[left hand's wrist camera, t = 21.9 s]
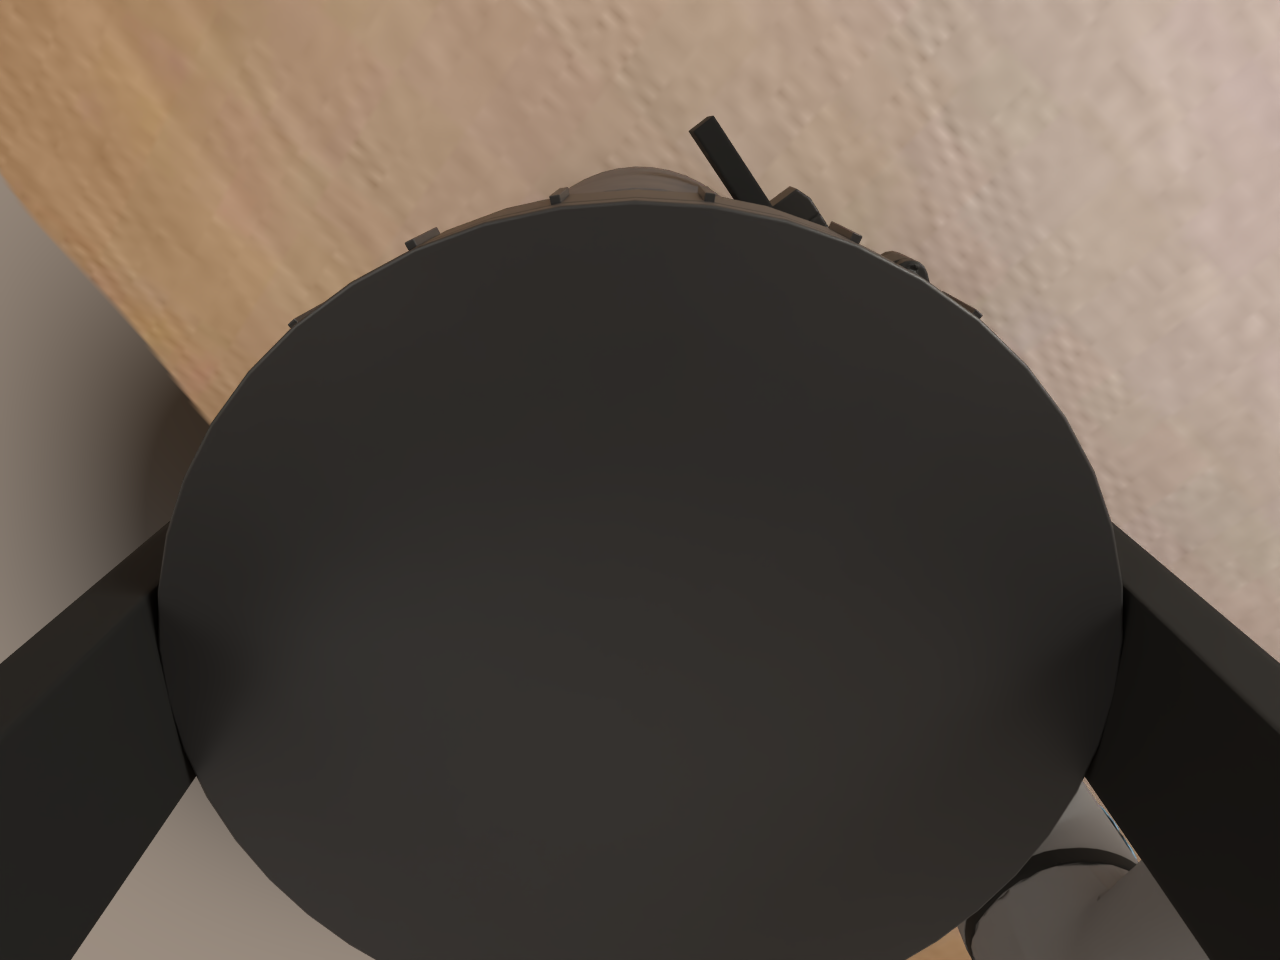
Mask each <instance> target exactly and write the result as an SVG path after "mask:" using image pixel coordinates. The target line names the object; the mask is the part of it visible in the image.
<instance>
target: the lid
mask: <svg viewBox="0 0 1280 960" xmlns="http://www.w3.org/2000/svg"><path fill="white" fill-rule="evenodd" d="M549 198H550V199H547V200H542V201H537V202H533V203H528V204H524V205H519V206H515V207H510V208H506V209H503V210H501V211H498V212H495V213H492V214H490V215H487V216H484V217H482V218H479V219H476V220H474V221H471V222H468V223H465V224H463V225H460V226H457V227H455V228H452V229H449V230H447V231H445V232H443V233H441V234H440V232H439V230H438V228H437V227H436V228H433V229H431V230H429V231H427V232H425V233H423V234H421V235H419V236H417V237H415V238H413V239H411V240H409V241H407V242H405V245H406V247H407V248H408V250H409V251H408V252H406V253H404V254H402V255H400V256H398V257H397V258H395V259H393V260H391V261H389V262H387V263H386V264H384V265H382V266H380V267H378V268H376V269H374V270H373V271H371V272H369V273H367V274H365V275H363V276H362V277H360V278H358V279H356V280H354V281H352V282H351V283H349V284H348V285H347V286H345V287H344V288H343V289H341V290H340V291H339V292H337V293H336V294H335V295H333V296H332V297H331V298H329V299H328V300H327V301H325V302H323V303H322V304H320V305H318V306H316V307H314V308H313V309H311V310H309V311H307V312H306V313H304V314H302V315H300V316H298V317H297V318H295V319H293V320H292V321H291V322H290V323H289V324H288V326H289V327H290V328H291V329H290V330H289V331H288V332H287V333H286V334H285V335H284V336H283V337H282V338H281V339H280V340H279V341H278V342H277V343H276V344H275V345H274V346H273V347H272V348H271V349H270V350H269V351H268V352H267V353H266V354H265V355H264V356H263V357H262V358H261V359H260V360H259V361H258V362H257V363H256V364H255V365H254V366H253V367H252V368H251V369H250V370H249V371H248V373H247V374H246V376H245V377H244V378H243V380H242V381H241V383H240V384H239V385H238V387H237V388H236V390H235V391H234V392H233V394H232V395H231V397H230V398H229V399H228V401H227V402H226V404H225V405H224V406H223V408H222V409H221V410H220V412H219V413H218V415H217V416H216V417H215V419H214V420H213V422H212V423H211V425H210V427H209V429H208V431H207V433H206V435H205V437H204V439H203V441H202V443H201V445H200V447H199V449H198V451H197V453H196V455H195V457H194V459H193V461H192V463H191V465H190V467H189V469H188V471H187V473H186V475H185V477H184V479H183V482H182V486H181V489H180V492H179V495H178V498H177V501H176V505H175V508H174V511H173V514H172V518H171V521H170V524H169V527H168V530H167V533H166V539H165V546H164V553H163V560H162V567H161V574H160V580H159V587H158V641H159V652H160V658H161V664H162V670H163V674H164V679H165V684H166V688H167V693H168V697H169V702H170V706H171V709H172V713H173V717H174V721H175V724H176V728H177V731H178V734H179V737H180V740H181V743H182V746H183V749H184V751H185V754H186V756H187V758H188V760H189V762H190V764H191V766H192V768H193V770H194V772H195V774H196V776H197V778H198V780H199V782H200V784H201V786H202V788H203V790H204V792H205V794H206V796H207V798H208V800H209V801H210V803H211V804H212V806H213V807H214V809H215V810H216V812H217V813H218V815H219V816H220V818H221V819H222V821H223V822H224V824H225V825H226V827H227V828H228V830H229V831H230V833H231V834H232V836H233V837H234V839H235V840H236V841H237V843H238V844H239V845H240V846H241V847H242V848H243V849H244V851H245V852H246V853H247V854H248V855H249V856H250V858H251V859H252V860H253V861H254V862H255V863H256V865H257V866H258V867H259V868H260V869H261V870H262V871H263V873H264V874H265V875H266V876H267V877H268V878H269V880H271V881H272V882H273V883H274V884H275V885H276V886H277V887H278V888H279V889H280V890H281V891H283V892H284V893H285V894H286V895H287V896H288V897H289V898H290V899H291V900H292V901H294V902H295V903H296V904H297V905H298V906H299V907H300V908H301V909H302V910H303V911H304V912H306V913H307V914H308V915H309V916H311V917H312V918H314V919H315V920H316V921H318V922H319V923H320V924H322V925H323V926H324V927H326V928H327V929H329V930H330V931H331V932H333V933H334V934H335V935H337V936H338V937H340V938H341V939H342V940H344V941H345V942H347V943H348V944H349V945H351V946H353V947H354V948H356V949H358V950H360V951H361V952H363V953H365V954H367V955H368V956H370V957H372V958H374V959H375V960H906V959H908V958H909V957H911V956H913V955H915V954H916V953H918V952H920V951H921V950H923V949H925V948H926V947H928V946H930V945H932V944H933V943H935V942H937V941H938V940H939V939H941V938H942V937H943V936H945V935H946V934H947V933H949V932H950V931H951V930H953V929H954V928H955V927H957V926H958V925H960V924H961V923H962V922H964V921H965V920H966V919H968V918H969V917H970V916H972V915H973V914H974V913H976V912H977V911H978V910H979V909H980V908H982V907H983V906H984V905H985V904H986V903H987V902H988V901H989V900H990V899H991V898H992V897H993V896H994V895H995V894H996V893H998V892H999V891H1000V890H1001V889H1002V888H1003V887H1004V886H1005V885H1006V884H1007V883H1008V882H1009V881H1010V880H1011V879H1012V878H1014V877H1015V876H1016V875H1017V873H1018V872H1019V871H1020V870H1021V869H1022V867H1023V866H1024V865H1025V864H1026V863H1027V861H1028V860H1029V859H1030V858H1031V857H1032V855H1033V854H1034V853H1035V852H1036V851H1037V850H1038V848H1039V847H1040V846H1041V845H1042V844H1043V842H1044V841H1045V840H1046V839H1047V838H1048V836H1049V835H1050V834H1051V832H1052V830H1053V829H1054V827H1055V826H1056V824H1057V823H1058V821H1059V820H1060V818H1061V816H1062V815H1063V813H1064V812H1065V810H1066V809H1067V807H1068V806H1069V804H1070V803H1071V801H1072V799H1073V798H1074V796H1075V795H1076V793H1077V792H1078V789H1079V787H1080V785H1081V783H1082V781H1083V779H1084V777H1085V774H1086V772H1087V770H1088V768H1089V766H1090V764H1091V762H1092V760H1093V757H1094V755H1095V753H1096V751H1097V749H1098V747H1099V745H1100V741H1101V738H1102V735H1103V732H1104V728H1105V725H1106V721H1107V717H1108V713H1109V709H1110V705H1111V702H1112V698H1113V694H1114V689H1115V684H1116V679H1117V675H1118V670H1119V664H1120V657H1121V650H1122V644H1123V584H1122V578H1121V572H1120V566H1119V560H1118V554H1117V548H1116V542H1115V536H1114V530H1113V525H1112V523H1111V520H1110V517H1109V514H1108V511H1107V508H1106V505H1105V502H1104V499H1103V496H1102V493H1101V490H1100V487H1099V484H1098V481H1097V478H1096V475H1095V472H1094V470H1093V468H1092V466H1091V464H1090V462H1089V460H1088V458H1087V457H1086V455H1085V453H1084V451H1083V449H1082V447H1081V445H1080V443H1079V441H1078V439H1077V438H1076V436H1075V434H1074V432H1073V430H1072V428H1071V426H1070V424H1069V422H1068V420H1067V419H1066V417H1065V415H1064V414H1063V413H1062V411H1061V410H1060V409H1059V407H1058V406H1057V405H1056V403H1055V402H1054V401H1053V399H1052V398H1051V397H1050V395H1049V394H1048V393H1047V391H1046V390H1045V389H1044V387H1043V386H1042V385H1041V383H1040V382H1039V381H1038V379H1037V378H1036V377H1035V375H1034V374H1033V373H1032V371H1031V370H1030V369H1029V367H1028V366H1027V365H1026V364H1025V363H1024V362H1023V361H1022V360H1021V359H1020V358H1019V357H1018V356H1017V355H1016V354H1015V353H1014V352H1013V351H1012V350H1011V349H1010V348H1009V347H1008V346H1007V345H1006V344H1005V343H1004V342H1003V341H1002V340H1001V339H1000V338H999V337H998V336H997V335H996V334H995V333H994V332H992V331H991V330H990V329H989V328H988V327H987V326H986V325H985V324H984V323H983V322H982V321H981V320H980V318H981V317H982V316H983V315H982V314H981V313H980V312H979V311H978V310H976V309H975V308H973V307H971V306H969V305H967V304H965V303H964V302H962V301H960V300H958V299H956V298H954V297H953V296H951V295H949V294H947V293H945V292H943V291H940V290H939V289H938V288H936V287H935V286H933V285H932V284H931V283H929V282H928V281H926V280H925V279H924V278H922V277H920V276H919V275H917V274H915V273H913V272H911V271H909V270H907V269H906V268H904V267H902V266H900V265H898V264H896V263H894V262H893V261H891V260H889V259H887V258H885V257H883V256H881V255H879V254H878V253H876V252H874V251H872V250H870V249H868V248H866V247H864V246H862V245H860V244H859V243H860V241H861V239H862V236H861V235H859V234H857V233H855V232H853V231H851V230H849V229H847V228H845V227H843V226H841V225H839V224H837V223H835V222H831V224H830V226H829V228H827V227H825V226H822V225H819V224H816V223H813V222H811V221H808V220H805V219H802V218H799V217H796V216H793V215H791V214H788V213H785V212H782V211H779V210H776V209H773V208H771V207H768V206H764V205H759V204H754V203H749V202H744V201H739V200H734V199H729V198H724V197H719V196H716V194H715V193H714V192H713V191H712V190H711V189H710V188H709V187H707V186H700V185H699V186H698V193H692V192H675V191H658V190H642V189H632V190H619V191H606V192H593V193H580V194H569V189H568V187H566V188H560V189H558V190H557V191H556V192H554V193H553V194H552V195H551V196H550V197H549Z"/></svg>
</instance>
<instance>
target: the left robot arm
mask: <svg viewBox="0 0 1280 960" xmlns="http://www.w3.org/2000/svg"><path fill="white" fill-rule="evenodd" d="M1111 523H1112V522H1111ZM169 524H170V521H169V522H168V523H167V524H166V525H165V526H163V527H162V528H161V529H160V530H159V531H158V532H156V533H155V534H154V535H153V536H152V537H150V538H149V539H148V540H147V541H146V542H145V543H143V544H142V545H141V546H140V547H139V548H137V549H136V550H135V551H134V552H133V553H131V554H130V555H129V556H128V557H127V558H125V559H124V560H123V561H122V562H121V563H120V564H118V565H117V566H116V567H115V568H114V569H112V570H111V571H110V572H109V573H108V574H106V575H105V576H104V577H103V578H102V579H101V580H99V581H98V582H97V583H96V584H95V585H93V586H92V587H91V588H90V589H89V590H87V591H86V592H85V593H84V594H83V595H82V596H80V597H79V598H78V599H77V600H76V601H74V602H73V603H72V604H71V605H70V606H68V607H67V608H66V609H65V610H64V611H63V612H61V613H60V614H59V615H58V616H57V617H55V618H54V619H53V620H52V621H51V622H49V623H48V624H47V625H46V626H45V627H44V628H42V629H41V630H40V631H39V632H38V633H36V634H35V635H34V636H33V637H32V638H31V639H29V640H28V641H27V642H26V643H25V644H23V645H22V646H21V647H20V648H19V649H17V650H16V651H15V652H14V653H13V654H12V655H10V656H9V657H8V658H7V659H6V660H4V661H3V662H2V663H1V664H0V960H71V959H72V957H73V956H74V954H75V953H76V951H77V950H78V948H79V947H80V946H81V944H82V943H83V941H84V940H85V938H86V937H87V935H88V934H89V932H90V931H91V929H92V928H93V927H94V925H95V924H96V922H97V921H98V919H99V918H100V916H101V915H102V913H103V912H104V910H105V909H106V907H107V906H108V905H109V903H110V902H111V900H112V899H113V897H114V896H115V894H116V893H117V891H118V890H119V888H120V887H121V885H122V884H123V883H124V881H125V880H126V878H127V877H128V875H129V874H130V872H131V871H132V869H133V868H134V866H135V865H136V863H137V862H138V861H139V859H140V858H141V856H142V855H143V853H144V852H145V850H146V849H147V847H148V846H149V844H150V843H151V841H152V840H153V839H154V837H155V835H156V834H157V833H158V831H159V830H160V828H161V827H162V825H163V824H164V822H165V821H166V819H167V818H168V817H169V815H170V814H171V812H172V811H173V809H174V808H175V806H176V805H177V803H178V802H179V800H180V799H181V797H182V796H183V795H184V793H185V792H186V790H187V789H188V787H189V786H190V784H191V783H192V781H193V780H194V778H195V777H196V774H195V772H194V770H193V768H192V766H191V764H190V762H189V760H188V758H187V756H186V754H185V751H184V749H183V746H182V743H181V740H180V737H179V734H178V731H177V728H176V724H175V721H174V717H173V713H172V709H171V706H170V702H169V697H168V693H167V688H166V684H165V679H164V674H163V670H162V664H161V658H160V652H159V641H158V587H159V580H160V574H161V567H162V560H163V553H164V546H165V539H166V533H167V530H168V527H169ZM1112 525H1113V530H1114V536H1115V542H1116V548H1117V554H1118V560H1119V566H1120V572H1121V578H1122V584H1123V644H1122V650H1121V657H1120V664H1119V670H1118V675H1117V679H1116V684H1115V689H1114V694H1113V698H1112V702H1111V705H1110V709H1109V713H1108V717H1107V721H1106V725H1105V728H1104V732H1103V735H1102V738H1101V741H1100V745H1099V747H1098V749H1097V751H1096V753H1095V755H1094V757H1093V760H1092V762H1091V764H1090V766H1089V768H1088V770H1087V772H1086V774H1085V778H1086V779H1087V780H1088V782H1089V783H1090V785H1091V786H1092V788H1093V789H1094V791H1095V792H1096V794H1097V795H1098V797H1099V798H1100V800H1101V801H1102V802H1103V804H1104V805H1105V807H1106V808H1107V810H1108V811H1109V813H1110V814H1111V816H1112V817H1113V819H1114V820H1115V822H1116V823H1117V824H1118V826H1119V827H1120V829H1121V830H1122V832H1123V833H1124V835H1125V836H1126V838H1127V839H1128V841H1129V842H1130V844H1131V845H1132V846H1133V848H1134V849H1135V851H1136V852H1137V854H1138V855H1139V857H1140V858H1141V860H1142V861H1143V863H1144V864H1145V866H1146V867H1147V868H1148V870H1149V871H1150V873H1151V874H1152V876H1153V877H1154V879H1155V880H1156V882H1157V883H1158V885H1159V886H1160V888H1161V889H1162V890H1163V892H1164V893H1165V895H1166V896H1167V898H1168V899H1169V901H1170V902H1171V904H1172V905H1173V907H1174V908H1175V910H1176V911H1177V912H1178V914H1179V915H1180V917H1181V918H1182V920H1183V921H1184V923H1185V924H1186V926H1187V927H1188V929H1189V930H1190V932H1191V933H1192V934H1193V936H1194V937H1195V939H1196V940H1197V942H1198V943H1199V945H1200V946H1201V948H1202V949H1203V951H1204V952H1205V954H1206V955H1207V956H1208V958H1209V959H1210V960H1280V663H1279V662H1277V661H1276V660H1275V659H1274V658H1273V657H1272V656H1270V655H1269V654H1268V653H1267V652H1266V651H1264V650H1263V649H1262V648H1261V647H1260V646H1258V645H1257V644H1256V643H1255V642H1254V641H1253V640H1251V639H1250V638H1249V637H1248V636H1247V635H1245V634H1244V633H1243V632H1242V631H1241V630H1239V629H1238V628H1237V627H1236V626H1235V625H1234V624H1232V623H1231V622H1230V621H1229V620H1228V619H1226V618H1225V617H1224V616H1223V615H1222V614H1220V613H1219V612H1218V611H1217V610H1216V609H1215V608H1213V607H1212V606H1211V605H1210V604H1209V603H1207V602H1206V601H1205V600H1204V599H1203V598H1201V597H1200V596H1199V595H1198V594H1197V593H1196V592H1194V591H1193V590H1192V589H1191V588H1190V587H1188V586H1187V585H1186V584H1185V583H1184V582H1182V581H1181V580H1180V579H1179V578H1178V577H1177V576H1175V575H1174V574H1173V573H1172V572H1171V571H1169V570H1168V569H1167V568H1166V567H1165V566H1163V565H1162V564H1161V563H1160V562H1159V561H1158V560H1156V559H1155V558H1154V557H1153V556H1152V555H1150V554H1149V553H1148V552H1147V551H1146V550H1144V549H1143V548H1142V547H1141V546H1140V545H1139V544H1137V543H1136V542H1135V541H1134V540H1133V539H1131V538H1130V537H1129V536H1128V535H1127V534H1125V533H1124V532H1123V531H1122V530H1121V529H1120V528H1118V527H1117V526H1116V525H1115V524H1114V523H1112Z"/></svg>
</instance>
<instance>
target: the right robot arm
mask: <svg viewBox="0 0 1280 960" xmlns="http://www.w3.org/2000/svg"><path fill="white" fill-rule="evenodd" d="M689 133H690V134H691V136H692V137H693V139H694V140H695V142H696V143H697V145H698V146H699V148H700V149H701V151H702V152H703V154H704V155H705V157H706V158H707V160H708V161H709V163H710V164H711V166H712V167H713V169H714V170H715V172H716V173H717V175H718V176H719V178H720V179H721V181H722V182H723V184H724V185H725V187H726V188H727V190H728V191H729V193H730V194H731V196H732V197H733V199H734V200H739V201H744V202H749V203H754V204H759V205H764V206H768V207H771V208H773V209H776V210H779V211H782V212H785V213H788V214H791V215H793V216H796V217H799V218H802V219H805V220H808V221H811V222H813V223H816V224H819V225H822V226H825V227H827V228H829V227H828V225H827V224H826V222H825V221H824V219H823V217H822V216H821V214H820V213H819V211H818V209H817V208H816V206H815V205H814V203H813V202H812V200H811V198H809V197H808V196H806V195H805V194H803V193H802V192H801V191H799V190H798V189H796V188H793V187H790V186H789V187H788V188H787V189H785V190H784V191H783V192H781V193H780V194H779V195H777V196H776V197H775V198H773V199H772V200H771V201H769V200H768V199H767V197H766V196H765V194H764V192H763V191H762V189H761V188H760V186H759V185H758V183H757V182H756V180H755V179H754V177H753V176H752V174H751V172H750V171H749V169H748V168H747V166H746V165H745V163H744V162H743V160H742V159H741V157H740V156H739V154H738V153H737V151H736V149H735V148H734V146H733V145H732V143H731V142H730V140H729V139H728V137H727V136H726V134H725V133H724V131H723V129H722V128H721V126H720V125H719V123H718V122H717V120H716V119H715V117H714V116H709V117H706V118H705V119H704V120H702V121H701V122H700V123H699V124H697V125H696V126H695V127H693V128H692V129H691V130H690V131H689ZM881 256H883V257H885V258H887V259H889V260H891V261H893V262H894V263H896V264H898V265H900V266H902V267H904V268H906V269H907V270H909V271H911V272H913V273H915V274H917V275H919V276H920V277H922V278H924V279H925V280H926V281H928V282H929V278H928V274H927V271H926V269H925V267H924V266H923V265H922V264H921V263H919V262H918V261H915V260H913V259H911V258H909V257H907V256H905V255H903V254H901V253H898V252H894V251H889V252H885V253H883V254H881ZM957 927H958V929H959V932H960V934H961V937H962V939H963V942H964V944H965V947H966V949H967V951H968V953H969V955H970V957H971V958H972V960H1210V959H1209V958H1208V956H1207V955H1206V954H1205V952H1204V951H1203V949H1202V948H1201V946H1200V945H1199V943H1198V942H1197V940H1196V939H1195V937H1194V936H1193V934H1192V933H1191V932H1190V930H1189V929H1188V927H1187V926H1186V924H1185V923H1184V921H1183V920H1182V918H1181V917H1180V915H1179V914H1178V912H1177V911H1176V910H1175V908H1174V907H1173V905H1172V904H1171V902H1170V901H1169V899H1168V898H1167V896H1166V895H1165V893H1164V892H1163V890H1162V889H1161V888H1160V886H1159V885H1158V883H1157V882H1156V880H1155V879H1154V877H1153V876H1152V874H1151V873H1150V871H1149V870H1148V868H1147V867H1146V866H1145V864H1144V863H1143V861H1142V860H1141V861H1140V862H1139V863H1138V861H1137V858H1136V856H1135V854H1134V852H1133V850H1132V848H1131V847H1130V846H1129V845H1128V843H1127V842H1126V840H1125V839H1124V837H1123V836H1122V834H1121V833H1120V832H1119V828H1118V826H1117V825H1116V824H1115V822H1114V821H1113V820H1112V819H1111V818H1110V816H1109V815H1108V814H1107V812H1106V811H1105V810H1104V809H1103V808H1102V807H1101V806H1100V805H1099V804H1098V803H1097V801H1096V800H1095V798H1094V797H1093V795H1092V794H1091V792H1090V791H1089V789H1088V788H1087V787H1086V785H1085V784H1084V782H1083V781H1082V783H1081V785H1080V787H1079V789H1078V792H1077V793H1076V795H1075V796H1074V798H1073V799H1072V801H1071V803H1070V804H1069V806H1068V807H1067V809H1066V810H1065V812H1064V813H1063V815H1062V816H1061V818H1060V820H1059V821H1058V823H1057V824H1056V826H1055V827H1054V829H1053V830H1052V832H1051V834H1050V835H1049V836H1048V838H1047V839H1046V840H1045V841H1044V842H1043V844H1042V845H1041V846H1040V847H1039V848H1038V850H1037V851H1036V852H1035V853H1034V854H1033V855H1032V857H1031V858H1030V859H1029V860H1028V861H1027V863H1026V864H1025V865H1024V866H1023V867H1022V869H1021V870H1020V871H1019V872H1018V873H1017V875H1016V876H1015V877H1014V878H1012V879H1011V880H1010V881H1009V882H1008V883H1007V884H1006V885H1005V886H1004V887H1003V888H1002V889H1001V890H1000V891H999V892H998V893H996V894H995V895H994V896H993V897H992V898H991V899H990V900H989V901H988V902H987V903H986V904H985V905H984V906H983V907H982V908H980V909H979V910H978V911H977V912H976V913H974V914H973V915H972V916H970V917H969V918H968V919H966V920H965V921H964V922H962V923H961V924H960V925H958V926H957Z"/></svg>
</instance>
